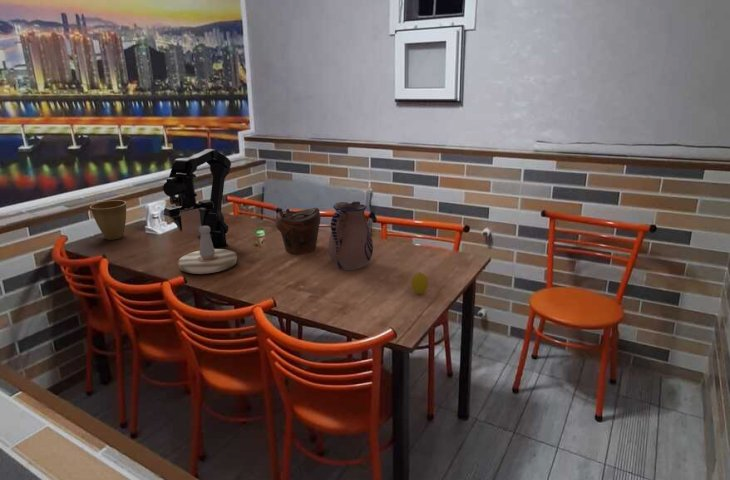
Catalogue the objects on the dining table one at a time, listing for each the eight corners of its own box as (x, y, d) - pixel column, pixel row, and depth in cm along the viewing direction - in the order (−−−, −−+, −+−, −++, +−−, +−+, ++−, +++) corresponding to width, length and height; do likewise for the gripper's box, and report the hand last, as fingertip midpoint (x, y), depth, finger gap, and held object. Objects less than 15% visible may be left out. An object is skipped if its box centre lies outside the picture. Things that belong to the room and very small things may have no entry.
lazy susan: (179, 257, 205) (177, 243, 203) (234, 250, 211) (233, 237, 209) (178, 276, 185) (176, 261, 183) (239, 269, 191) (238, 254, 189)
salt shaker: (211, 261, 194) (207, 229, 190) (197, 260, 195) (193, 228, 191) (217, 255, 200) (214, 224, 195) (204, 255, 201) (200, 224, 196)
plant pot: (109, 231, 241) (103, 199, 236) (137, 233, 239) (132, 200, 234) (88, 241, 227) (82, 207, 222) (119, 243, 225) (113, 208, 220)
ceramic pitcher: (378, 261, 202) (378, 200, 194) (361, 281, 183) (360, 215, 175) (338, 256, 207) (337, 197, 199) (317, 275, 188) (315, 211, 180)
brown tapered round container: (268, 250, 215) (265, 209, 209) (303, 239, 228) (302, 201, 223) (294, 260, 203) (293, 218, 197) (330, 248, 217) (330, 209, 211)
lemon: (410, 291, 174) (410, 270, 171) (425, 290, 174) (426, 269, 172) (412, 298, 169) (413, 276, 166) (428, 297, 169) (429, 275, 166)
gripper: (199, 184, 208) (203, 220, 213) (154, 191, 196) (160, 229, 201) (212, 188, 201) (216, 225, 206) (167, 196, 188) (172, 235, 193)
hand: (191, 228), depth 201 cm, fingers open, 9 cm apart
